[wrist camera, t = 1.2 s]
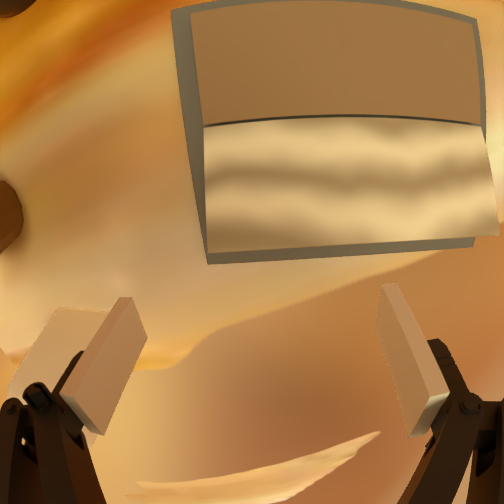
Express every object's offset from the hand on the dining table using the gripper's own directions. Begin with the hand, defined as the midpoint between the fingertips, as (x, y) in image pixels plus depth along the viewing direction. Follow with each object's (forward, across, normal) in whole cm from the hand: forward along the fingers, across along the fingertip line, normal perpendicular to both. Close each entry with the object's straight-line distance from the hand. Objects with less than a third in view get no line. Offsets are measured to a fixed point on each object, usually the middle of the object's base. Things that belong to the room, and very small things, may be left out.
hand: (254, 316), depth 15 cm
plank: (+17, +10, +1) cm, 20 cm away
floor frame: (+21, +10, +8) cm, 25 cm away
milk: (+22, -31, -22) cm, 44 cm away
